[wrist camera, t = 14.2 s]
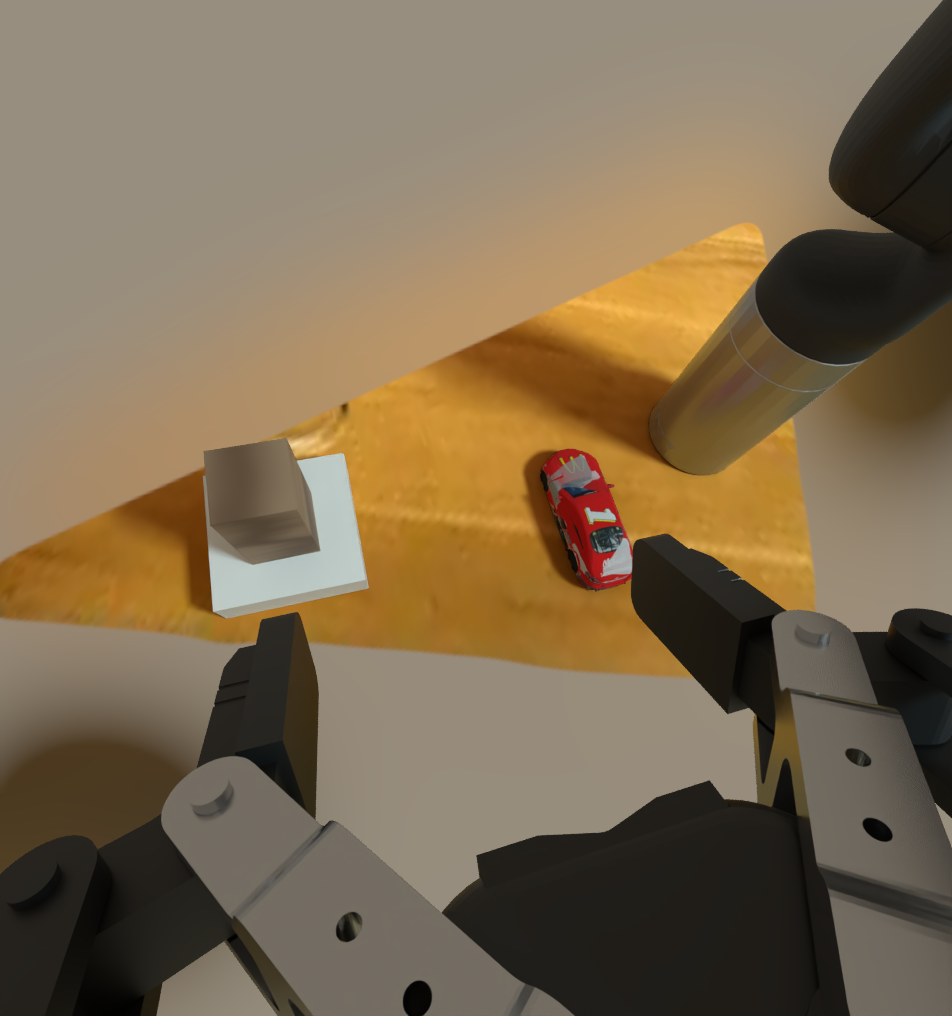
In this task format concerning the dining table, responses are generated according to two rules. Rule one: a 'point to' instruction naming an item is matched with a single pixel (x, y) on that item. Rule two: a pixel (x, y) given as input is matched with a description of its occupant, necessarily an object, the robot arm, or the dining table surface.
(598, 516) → the race car
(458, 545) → the dining table surface
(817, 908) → the robot arm
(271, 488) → the walnut block
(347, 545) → the riser
